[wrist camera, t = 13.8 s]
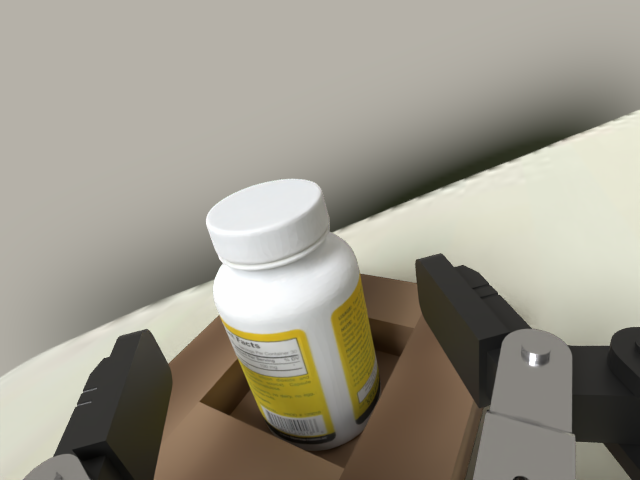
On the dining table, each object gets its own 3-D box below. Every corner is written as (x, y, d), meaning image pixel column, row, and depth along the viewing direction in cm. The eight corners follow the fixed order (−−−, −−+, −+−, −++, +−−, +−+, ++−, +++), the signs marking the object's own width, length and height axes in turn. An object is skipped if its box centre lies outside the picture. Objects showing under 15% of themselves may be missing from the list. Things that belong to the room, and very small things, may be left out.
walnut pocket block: (501, 339, 20) (503, 297, 18) (411, 683, 10) (401, 647, 9) (286, 292, 26) (276, 259, 25) (118, 476, 17) (89, 439, 16)
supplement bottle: (349, 337, 21) (311, 158, 16) (407, 417, 16) (377, 201, 12) (250, 381, 20) (177, 201, 15) (283, 481, 15) (192, 269, 10)
